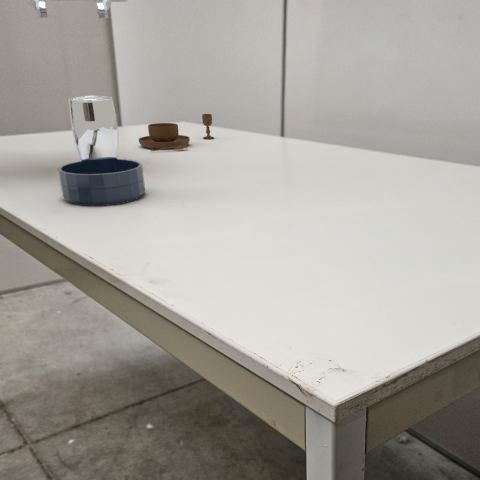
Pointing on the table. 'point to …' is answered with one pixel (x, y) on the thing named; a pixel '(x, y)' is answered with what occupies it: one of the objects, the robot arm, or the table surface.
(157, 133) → the place setting
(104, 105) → the beer glass
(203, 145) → the table surface
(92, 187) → the bowl
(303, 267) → the table surface
